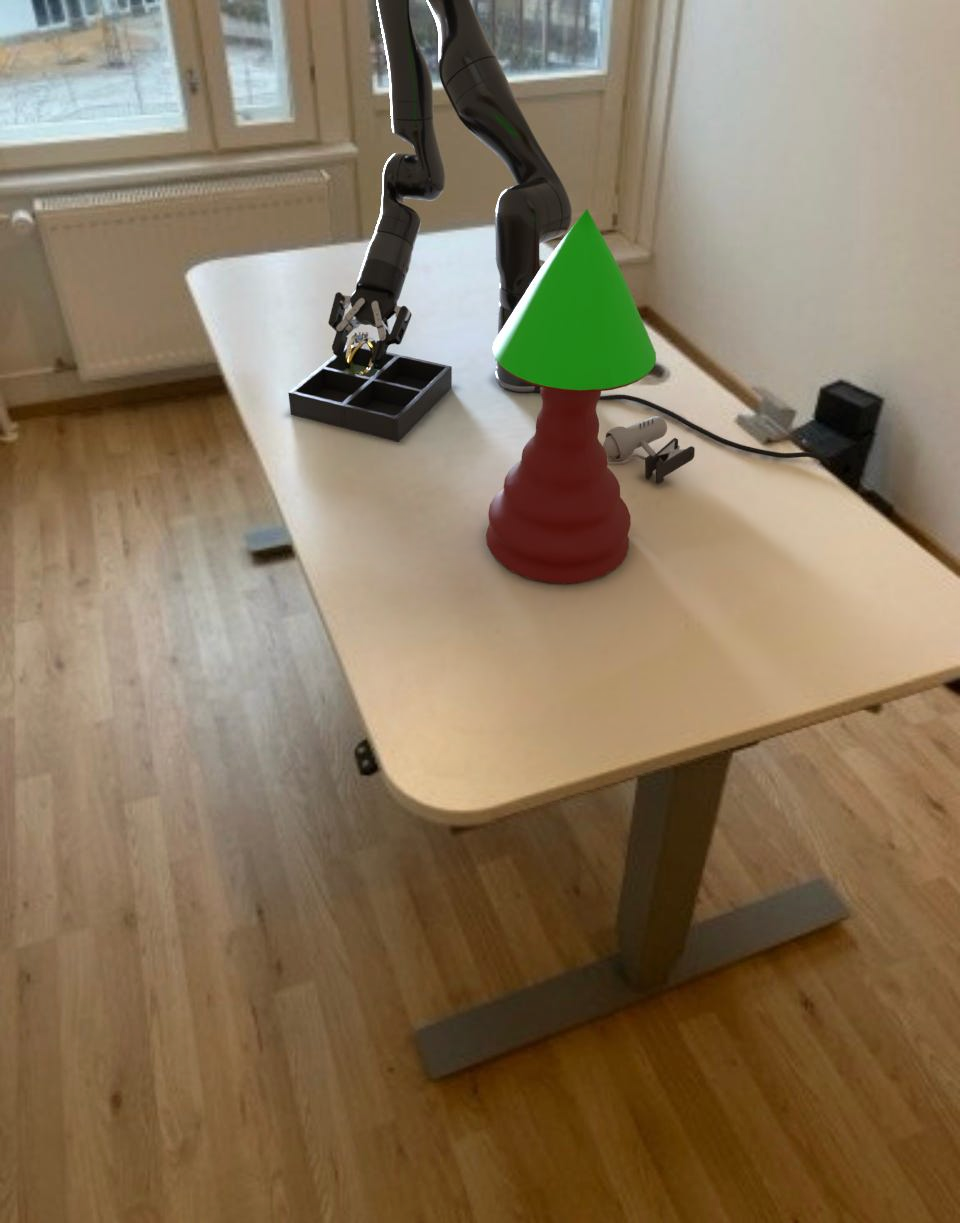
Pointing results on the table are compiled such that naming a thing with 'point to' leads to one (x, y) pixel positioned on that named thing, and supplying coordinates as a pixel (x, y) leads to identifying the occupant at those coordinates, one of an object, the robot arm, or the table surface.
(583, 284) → the table lamp
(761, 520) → the table surface
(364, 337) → the ring
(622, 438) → the clip-on lamp
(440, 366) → the organizer
